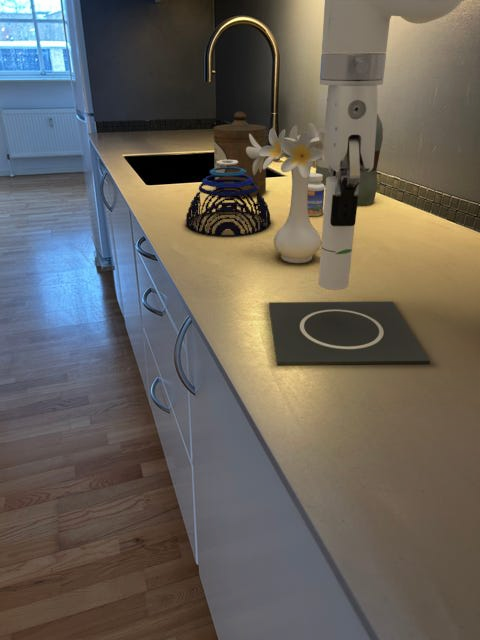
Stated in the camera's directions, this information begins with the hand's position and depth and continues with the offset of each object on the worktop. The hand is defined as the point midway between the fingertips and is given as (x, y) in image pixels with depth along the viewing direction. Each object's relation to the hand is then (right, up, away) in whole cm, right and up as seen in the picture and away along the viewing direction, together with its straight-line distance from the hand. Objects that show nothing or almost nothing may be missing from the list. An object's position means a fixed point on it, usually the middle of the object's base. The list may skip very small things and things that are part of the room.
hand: (339, 218), depth 70 cm
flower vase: (-3, -2, +32) cm, 32 cm away
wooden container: (-13, +23, +80) cm, 85 cm away
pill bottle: (+5, +13, +60) cm, 62 cm away
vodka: (+19, +18, +70) cm, 75 cm away
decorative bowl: (-16, +9, +53) cm, 56 cm away
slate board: (+1, -16, +5) cm, 16 cm away
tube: (0, -9, +5) cm, 10 cm away
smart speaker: (+14, +28, +89) cm, 95 cm away
